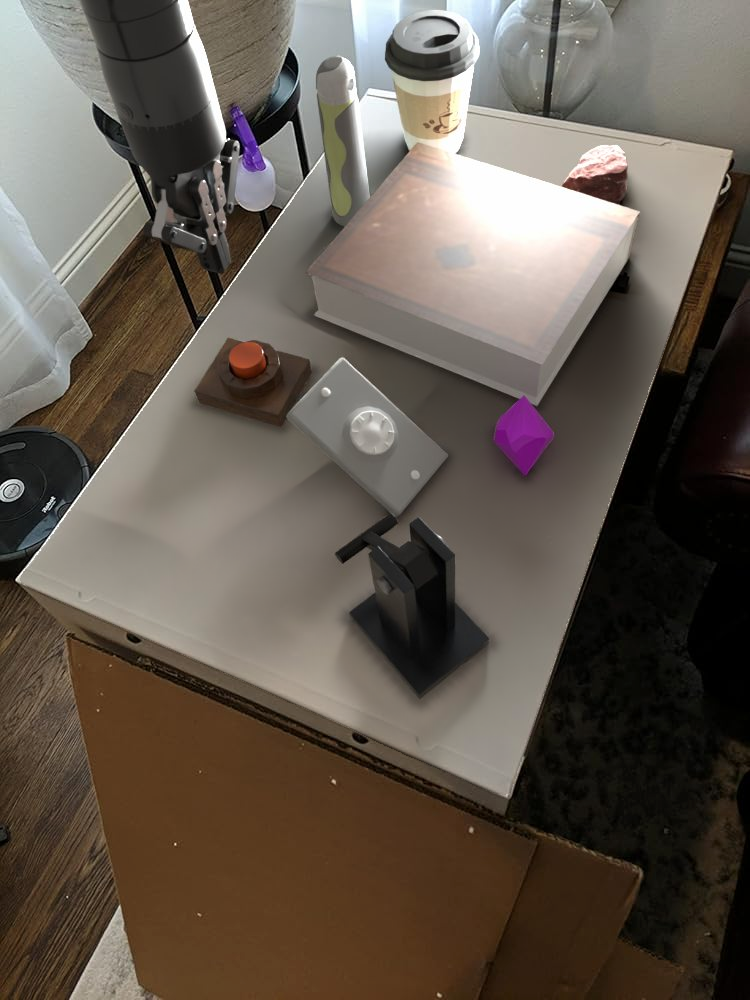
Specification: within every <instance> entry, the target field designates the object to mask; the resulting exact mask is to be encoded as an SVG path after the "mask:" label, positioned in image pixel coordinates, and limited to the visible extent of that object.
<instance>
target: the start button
mask: <svg viewBox="0 0 750 1000" xmlns="http://www.w3.org/2000/svg"><path fill="white" fill-rule="evenodd" d="M243 342H244V343H241V344H238V345H237V346H235V347H234V348H233V349H232V350H231V352H230V354H229V361H230V364H231V367H232V370H233V372H234V374H235V375H236V376H238V377H240V378H243V379H251V378H255V377H257V376H259V375H260V374H261V373H262V372H263V371H264V369H265V367H266V360H265V357H264V353H263V350H262V348H261V347H260V346H259V345H258V344H256V343H252V342H245V341H243Z"/></svg>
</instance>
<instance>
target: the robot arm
mask: <svg viewBox="0 0 750 1000" xmlns="http://www.w3.org/2000/svg"><path fill="white" fill-rule="evenodd" d="M78 1H79V4H80V6H81V9H82V12H83V15H84V17H85V20H86V23H87V25H88V28H89V31H90V33H91V36H92V40H93V42H94V44H95V48H96V51H97V53H98V58H99V63H100V67H101V72H102V75H103V78H104V82H105V84H106V87H107V90H108V92H109V96H110V97H111V100H112V103H113V106H114V108H115V111H116V114H117V117H118V119H119V123H120V124H121V127H122V131H123V133H124V135H125V138H126V141H127V144H128V146H129V149H130V151H131V154H132V157H133V158H134V160H135V162H136V163H137V164H138V165H139V166H140V167H141V169H143V170H144V171H145V173H147V175H148V177H149V179H150V183H151V186H150V187H151V196H152V199H153V201H154V203H155V204H156V205H157V206H156V212H155V216H154V220H153V221H151V220H147V221H145V223H144V225H143V234H144V236H145V237H147V238H150V239H152V240H156V241H158V242H161V243H164V244H165V245H169V246H171V247H175V248H177V249H181V250H184V251H185V250H186V251H189V252H194V253H196V255H197V259H198V261H199V263H200V267H201V269H203V270H205V271H208V272H212V273H216V274H220V275H223V274H225V272H226V271H227V269H228V268H229V266H230V265H231V264H232V257H231V255H230V247H229V242H228V240H227V235H226V233H225V232H226V229H227V224H228V223H227V218H226V214H232V212H234V209H235V198H236V189H237V178H238V167H239V158H240V148H241V147H240V143H239V141H238V140H235V139H230V138H227V130H226V126H225V121H224V119H223V115H222V111H221V108H220V104H219V99H218V95H217V92H216V88H215V84H214V80H213V77H212V73H211V69H210V64H209V61H208V57H207V53H206V51H205V48H204V44H203V42H202V40H201V37H200V35H199V33H198V30H197V27H196V24H195V21H194V17H193V13H192V10H191V6H190V3H189V0H78Z"/></svg>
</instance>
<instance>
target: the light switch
mask: <svg viewBox="0 0 750 1000" xmlns="http://www.w3.org/2000/svg"><path fill="white" fill-rule="evenodd" d="M286 417H287V419H286V420H288V421H289V422H290V423H291V424H292V425H293V426H295V427H296V429H297V430H299V431H300V432H301V433H302V434H303V435H304V436H305V437H306V438H308V439H309V440H310V441H311V442H312V443H313V444H314V445H315V446H317V448H318V449H320V450H321V451H322V452H323V453H324V454H325V455H326V456H328V458H330V459H331V461H333V462H334V463H335V464H336V465H337V466H338V467H339V468H341V469H342V471H344V472H345V473H346V474H347V475H348V476H350V477H351V478H352V480H354V481H355V482H356V483H357V484H358V485H359V486H360V487H362V489H364V491H366V492H367V493H368V494H369V495H370V496H371V497H372V498H373V499H375V500H376V501H377V502H378V503H379V504H380V505H381V506H382V507H383V508H384V509H385V510H387V512H389V513H392V514H393V515H394V516H395V517H398V516H400V515H402V513H403V512H404V510H405V509H407V507H408V505H410V503H411V502H412V501H413V500H414V498H415V497H416V496H418V494H419V492H420V491H421V490H422V489H423V487H425V485H426V484H427V483H428V481H429V480H430V479H431V478H432V477H433V476H434V474H435V473H436V472H437V471H438V469H439V468H440V467H441V466H442V465H443V463H444V462H445V461H446V459H448V456H449V455H448V453H447V452H446V451H445V450H444V449H442V447H441V446H440V445H439V444H438V443H436V442H435V440H433V439H432V438H431V437H430V436H429V435H428V434H427V433H426V432H425V431H423V430H422V429H421V428H420V427H419V426H418V425H417V424H416V423H415V422H414V421H413V420H411V418H409V416H407V414H405V413H404V412H403V411H402V410H401V409H400V408H398V406H396V405H395V404H394V403H393V402H392V401H391V400H390V399H389V398H388V397H387V396H385V395H384V393H382V392H381V391H380V390H379V389H378V388H377V387H376V386H375V385H374V384H373V383H371V381H369V379H368V378H367V377H365V376H364V375H363V374H362V373H361V372H360V371H359V370H358V369H357V368H356V367H354V366H353V365H352V364H351V363H350V362H349V361H348V360H347V359H346V358H345V357H343V356H342V357H340V358H338V360H337V361H336V362H335V363H334V364H333V365H332V366H331V367H329V369H328V370H327V371H326V372H325V374H323V375H322V377H320V378H319V380H318V381H317V382H315V383H314V385H313V386H312V387H311V388H310V389H309V390H308V391H307V392H306V393H305V394H304V395H303V396H302V397H301V398H300V399H299V401H297V402H296V403H295V404H294V406H293V408H292V409H291V410H290V411H289V412H288V414H287V416H286Z"/></svg>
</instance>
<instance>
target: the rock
mask: <svg viewBox="0 0 750 1000" xmlns="http://www.w3.org/2000/svg"><path fill="white" fill-rule="evenodd" d="M625 155H626V153H625V151H624V150H622V148H621V147H620V146H619V145H617V144H613V145H607V144H605V145H604V144H602V145H599V146H596V147H594V148H592V149H590V150H588V151H587V152H585V153H584V154H582V156H581V157H580V158H579V160H578V164H577V166H575V167H574V168H573V169H572V170H571V171H570V172H569V173H568V176H566V178H565V180H564V181H563V182H562V184H561V187H563V188H566V189H569V190H573V191H576V192H579V193H582V194H585V195H589V196H592V197H595V198H598V199H601V200H605V201H608V202H611V203H614V204H617V205H620V203H621V201H622V200H623V199H624V198H625V196H626V193H627V190H628V186H627V181H628V179H629V178H628V177H629V176H628V175H629V165H628V159H627V157H626V156H625Z"/></svg>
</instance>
